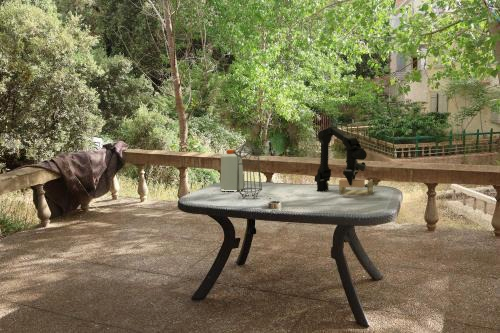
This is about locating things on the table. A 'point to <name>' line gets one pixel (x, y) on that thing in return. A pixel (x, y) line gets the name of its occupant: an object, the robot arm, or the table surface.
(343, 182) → the tan rectangular block
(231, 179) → the plastic bottle
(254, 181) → the geometric lantern
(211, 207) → the table surface
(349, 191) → the shelf frame
